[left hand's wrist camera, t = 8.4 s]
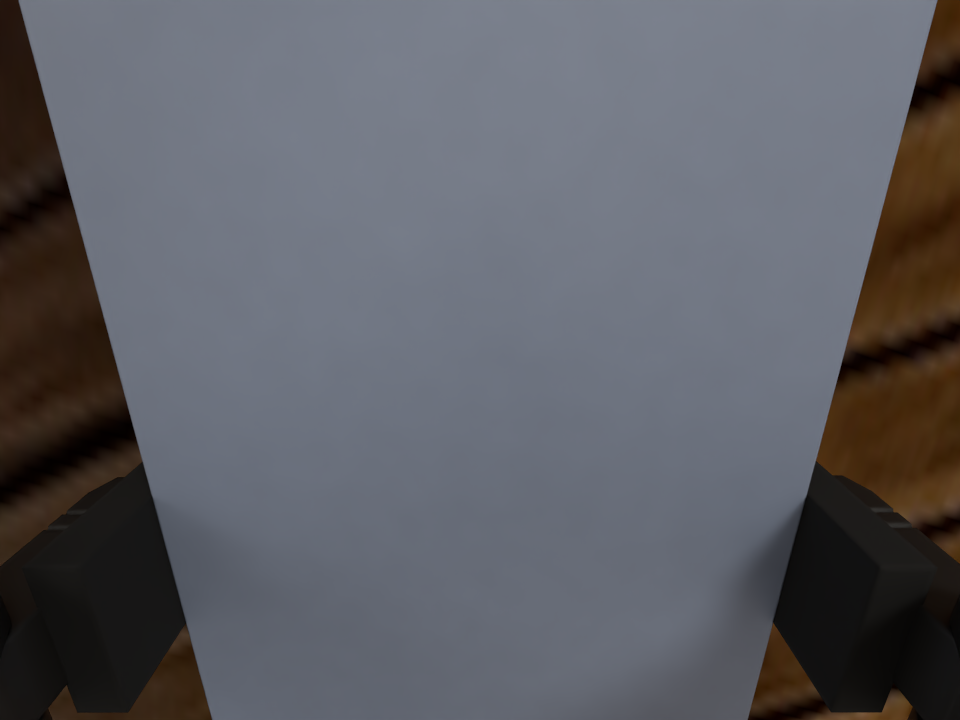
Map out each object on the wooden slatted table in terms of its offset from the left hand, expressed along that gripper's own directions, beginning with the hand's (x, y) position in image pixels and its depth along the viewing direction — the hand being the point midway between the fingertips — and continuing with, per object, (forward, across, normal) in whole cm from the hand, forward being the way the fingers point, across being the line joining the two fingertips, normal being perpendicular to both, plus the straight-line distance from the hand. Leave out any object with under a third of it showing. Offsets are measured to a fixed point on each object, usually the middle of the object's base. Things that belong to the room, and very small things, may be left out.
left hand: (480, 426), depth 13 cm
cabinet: (+6, 0, -5) cm, 8 cm away
